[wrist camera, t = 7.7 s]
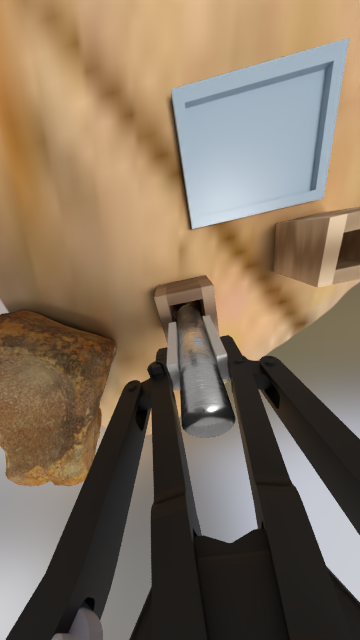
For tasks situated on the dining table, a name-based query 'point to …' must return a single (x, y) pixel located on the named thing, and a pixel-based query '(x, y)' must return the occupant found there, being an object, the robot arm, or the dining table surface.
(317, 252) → the block
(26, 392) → the rough brown rock
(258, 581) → the robot arm
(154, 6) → the dining table surface
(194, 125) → the tray
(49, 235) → the dining table surface
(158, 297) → the brown hollow block
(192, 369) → the silver metal rod
